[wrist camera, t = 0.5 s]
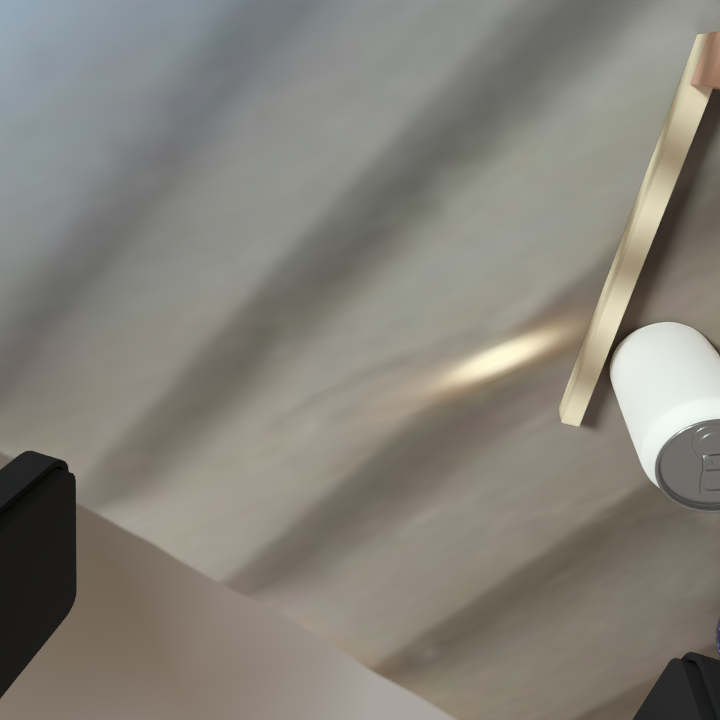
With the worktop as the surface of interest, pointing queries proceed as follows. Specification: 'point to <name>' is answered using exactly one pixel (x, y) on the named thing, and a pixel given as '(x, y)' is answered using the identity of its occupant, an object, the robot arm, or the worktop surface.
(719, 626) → the planter
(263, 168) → the worktop surface
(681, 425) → the can
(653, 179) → the rail channel
